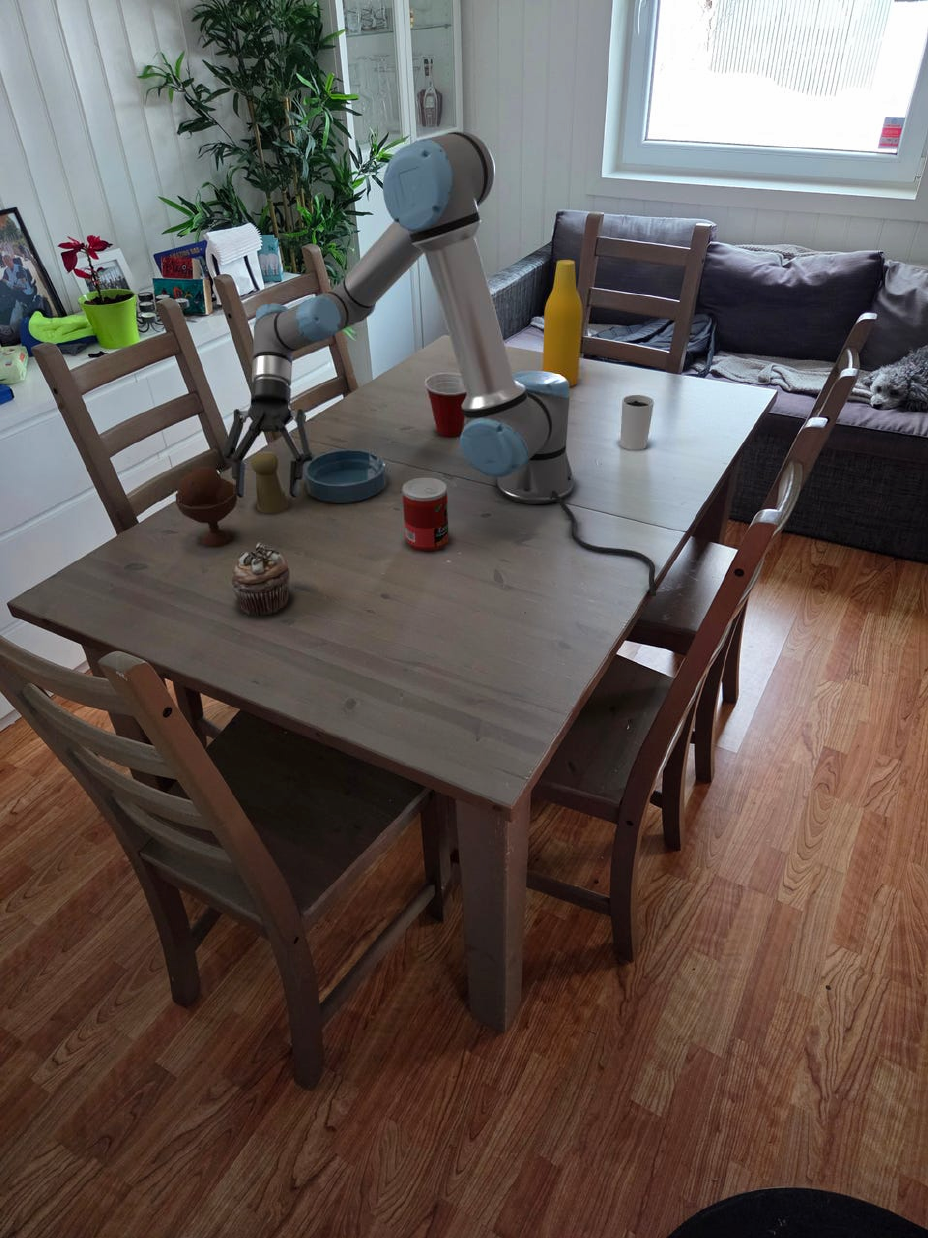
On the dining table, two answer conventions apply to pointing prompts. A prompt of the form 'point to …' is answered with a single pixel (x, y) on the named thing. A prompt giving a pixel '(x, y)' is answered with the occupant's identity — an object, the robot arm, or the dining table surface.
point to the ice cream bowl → (207, 501)
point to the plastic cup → (447, 402)
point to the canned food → (426, 513)
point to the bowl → (345, 475)
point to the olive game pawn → (268, 483)
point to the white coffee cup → (636, 421)
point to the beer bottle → (563, 325)
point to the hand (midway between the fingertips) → (266, 495)
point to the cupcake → (261, 581)
